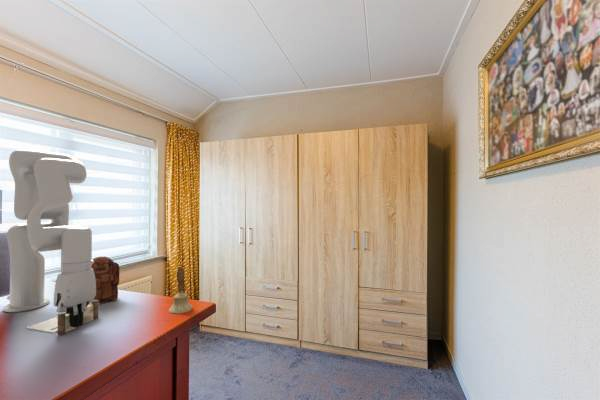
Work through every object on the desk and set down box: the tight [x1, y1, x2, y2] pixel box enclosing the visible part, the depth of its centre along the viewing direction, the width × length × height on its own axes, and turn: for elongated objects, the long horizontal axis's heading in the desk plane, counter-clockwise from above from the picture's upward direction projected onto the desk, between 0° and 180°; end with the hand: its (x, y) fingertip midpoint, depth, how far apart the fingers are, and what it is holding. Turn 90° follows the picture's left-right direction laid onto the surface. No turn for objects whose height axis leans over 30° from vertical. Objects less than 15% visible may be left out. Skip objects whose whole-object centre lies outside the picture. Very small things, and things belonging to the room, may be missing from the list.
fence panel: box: [57, 304, 94, 336], centre depth 90 cm, size 12×2×6 cm, turn 173°
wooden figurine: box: [92, 256, 120, 305], centre depth 113 cm, size 12×6×18 cm, turn 129°
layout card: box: [26, 316, 58, 334], centre depth 92 cm, size 12×10×1 cm
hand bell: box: [168, 266, 193, 315], centre depth 105 cm, size 8×8×16 cm
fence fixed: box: [65, 300, 100, 320], centre depth 99 cm, size 14×2×6 cm, turn 74°
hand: (76, 325), depth 88 cm, fingers closed
